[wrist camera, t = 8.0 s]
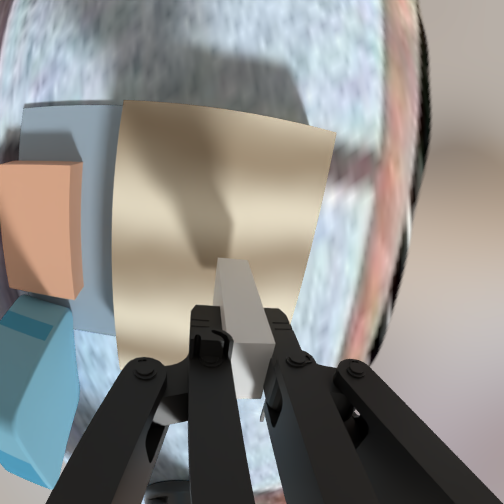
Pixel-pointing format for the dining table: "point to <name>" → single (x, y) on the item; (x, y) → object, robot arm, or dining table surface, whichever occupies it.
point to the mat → (82, 196)
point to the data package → (36, 388)
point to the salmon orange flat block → (42, 226)
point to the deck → (207, 215)
